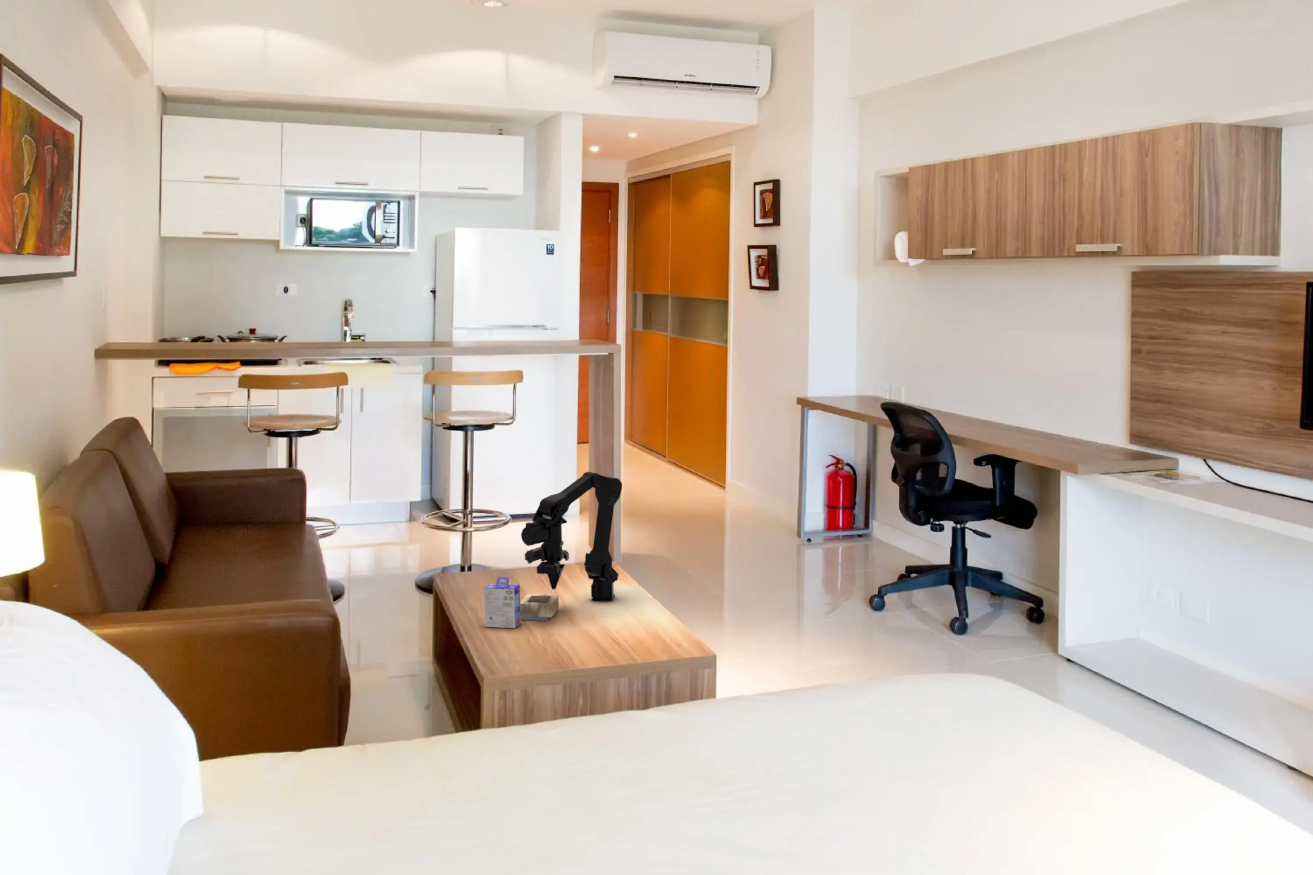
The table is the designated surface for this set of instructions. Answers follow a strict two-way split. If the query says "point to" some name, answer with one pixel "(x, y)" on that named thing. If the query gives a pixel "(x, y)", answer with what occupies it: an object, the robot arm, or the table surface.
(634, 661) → the table surface
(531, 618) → the mat
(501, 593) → the ink cartridge box
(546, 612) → the wooden block
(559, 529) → the robot arm
